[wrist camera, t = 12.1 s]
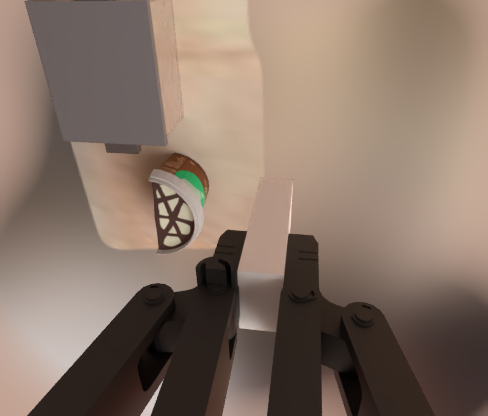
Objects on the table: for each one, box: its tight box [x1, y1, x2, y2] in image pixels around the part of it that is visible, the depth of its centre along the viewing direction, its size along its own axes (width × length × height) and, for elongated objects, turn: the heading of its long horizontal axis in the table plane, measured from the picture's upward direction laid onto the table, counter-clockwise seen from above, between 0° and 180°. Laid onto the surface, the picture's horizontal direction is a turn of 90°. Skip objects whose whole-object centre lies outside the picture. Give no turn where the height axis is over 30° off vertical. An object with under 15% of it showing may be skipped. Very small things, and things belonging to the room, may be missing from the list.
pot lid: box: [25, 0, 168, 146], centre depth 41 cm, size 15×12×1 cm
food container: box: [148, 153, 209, 255], centre depth 53 cm, size 12×6×10 cm, turn 178°
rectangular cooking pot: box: [105, 0, 184, 154], centre depth 45 cm, size 19×12×8 cm, turn 1°
